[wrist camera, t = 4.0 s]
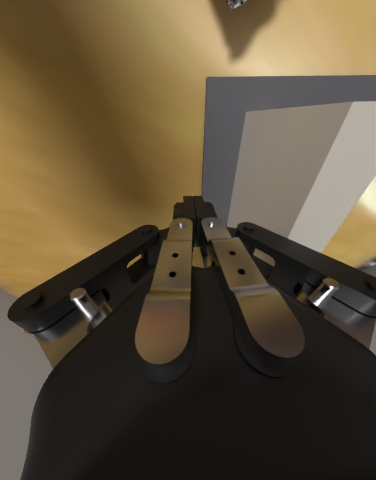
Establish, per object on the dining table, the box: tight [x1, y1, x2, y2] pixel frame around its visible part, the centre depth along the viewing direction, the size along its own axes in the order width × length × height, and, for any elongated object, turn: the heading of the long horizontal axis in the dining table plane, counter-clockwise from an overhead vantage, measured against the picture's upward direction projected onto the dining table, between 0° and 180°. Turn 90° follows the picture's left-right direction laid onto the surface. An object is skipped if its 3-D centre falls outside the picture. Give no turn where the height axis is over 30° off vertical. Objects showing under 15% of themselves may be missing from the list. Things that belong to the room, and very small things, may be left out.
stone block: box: [227, 101, 376, 266], centre depth 12 cm, size 2×12×10 cm, turn 1°
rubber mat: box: [202, 75, 376, 226], centre depth 17 cm, size 18×16×1 cm
